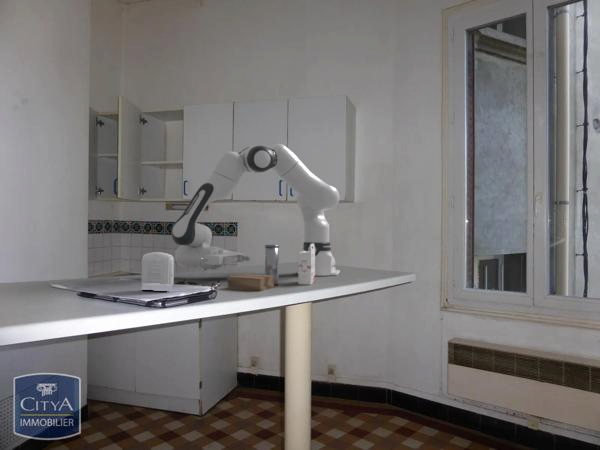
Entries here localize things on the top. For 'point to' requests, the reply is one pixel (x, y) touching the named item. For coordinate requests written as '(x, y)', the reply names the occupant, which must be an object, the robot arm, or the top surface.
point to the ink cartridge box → (307, 266)
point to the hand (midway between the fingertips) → (243, 259)
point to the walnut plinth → (251, 282)
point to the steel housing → (272, 261)
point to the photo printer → (157, 268)
